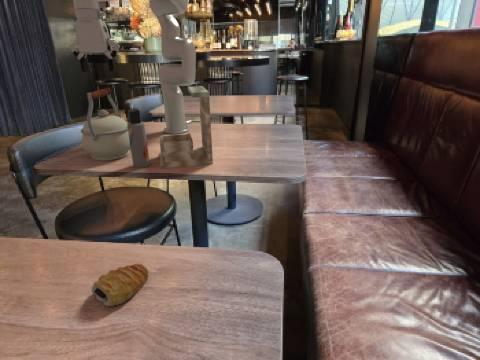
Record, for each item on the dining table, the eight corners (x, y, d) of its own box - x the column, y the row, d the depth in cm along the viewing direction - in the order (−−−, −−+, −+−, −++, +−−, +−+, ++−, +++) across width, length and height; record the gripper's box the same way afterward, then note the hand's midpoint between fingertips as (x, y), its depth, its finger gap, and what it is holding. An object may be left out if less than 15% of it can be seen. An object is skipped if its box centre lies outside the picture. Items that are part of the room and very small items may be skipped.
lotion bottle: (152, 162, 115) (144, 107, 107) (146, 168, 110) (138, 110, 102) (137, 162, 115) (128, 107, 108) (130, 168, 110) (121, 110, 102)
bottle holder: (160, 168, 109) (151, 94, 99) (160, 153, 125) (153, 88, 116) (212, 163, 113) (209, 92, 103) (206, 149, 129) (202, 86, 119)
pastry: (134, 267, 61) (131, 250, 59) (158, 280, 57) (156, 263, 56) (89, 297, 53) (84, 279, 52) (113, 314, 50) (109, 295, 48)
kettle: (122, 164, 114) (110, 93, 104) (73, 164, 115) (56, 94, 105) (145, 144, 137) (137, 85, 127) (104, 144, 138) (93, 85, 128)
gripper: (119, 16, 105) (127, 70, 112) (70, 17, 107) (81, 71, 114) (108, 14, 99) (118, 72, 105) (56, 16, 100) (69, 72, 107)
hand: (99, 71), depth 110 cm, fingers open, 9 cm apart
